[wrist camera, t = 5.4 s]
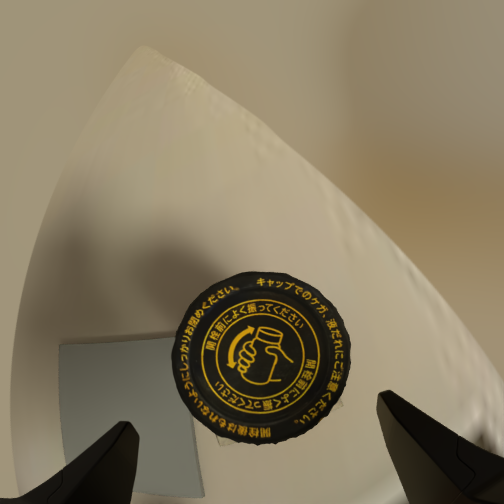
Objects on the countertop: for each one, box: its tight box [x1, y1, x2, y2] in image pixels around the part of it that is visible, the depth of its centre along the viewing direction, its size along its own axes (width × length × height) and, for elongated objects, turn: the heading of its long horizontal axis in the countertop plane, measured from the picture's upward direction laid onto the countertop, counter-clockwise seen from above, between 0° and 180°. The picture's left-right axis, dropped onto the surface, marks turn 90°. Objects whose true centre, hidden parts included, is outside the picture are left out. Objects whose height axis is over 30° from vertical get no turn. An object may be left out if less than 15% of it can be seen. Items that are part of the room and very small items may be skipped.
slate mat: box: [59, 337, 205, 498], centre depth 17 cm, size 12×12×1 cm
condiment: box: [171, 271, 351, 446], centre depth 13 cm, size 7×8×12 cm
